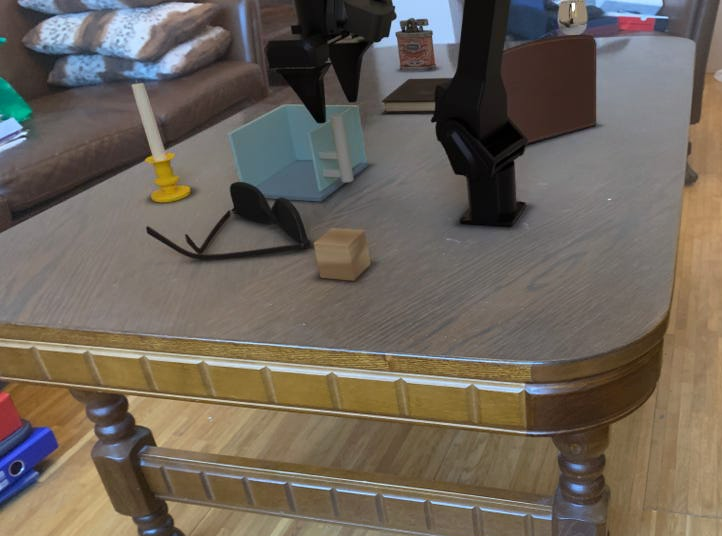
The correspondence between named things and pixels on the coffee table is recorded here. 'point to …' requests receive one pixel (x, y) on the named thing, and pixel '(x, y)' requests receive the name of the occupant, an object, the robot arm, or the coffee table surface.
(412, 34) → the lighter
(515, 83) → the letter holder
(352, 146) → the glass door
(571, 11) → the wineglass
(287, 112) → the enclosure
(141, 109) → the candle
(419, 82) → the hardcover book
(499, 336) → the coffee table surface
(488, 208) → the robot arm
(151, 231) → the sunglasses
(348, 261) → the block
